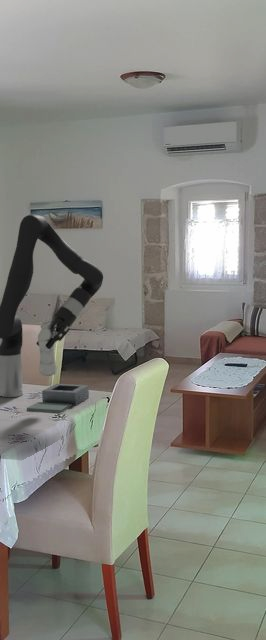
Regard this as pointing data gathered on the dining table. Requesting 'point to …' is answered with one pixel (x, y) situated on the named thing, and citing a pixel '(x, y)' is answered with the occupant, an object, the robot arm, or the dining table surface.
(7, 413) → the dining table surface
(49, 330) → the silver metal bottle
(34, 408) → the grey-green rectangular panel
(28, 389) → the dining table surface
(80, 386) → the metal collar
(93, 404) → the dining table surface
